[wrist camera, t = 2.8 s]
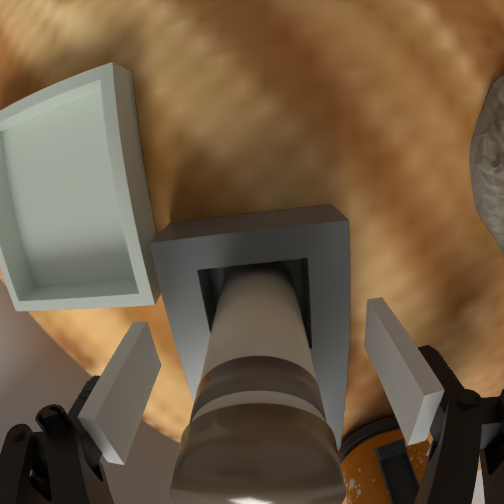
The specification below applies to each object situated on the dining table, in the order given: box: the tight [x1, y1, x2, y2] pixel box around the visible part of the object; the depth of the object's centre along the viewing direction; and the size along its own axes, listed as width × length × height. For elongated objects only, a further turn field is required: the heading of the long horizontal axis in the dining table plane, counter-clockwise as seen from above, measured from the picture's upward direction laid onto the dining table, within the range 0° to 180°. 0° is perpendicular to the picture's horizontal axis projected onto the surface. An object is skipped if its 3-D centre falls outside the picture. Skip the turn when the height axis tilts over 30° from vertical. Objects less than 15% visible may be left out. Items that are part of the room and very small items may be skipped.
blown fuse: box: [170, 261, 346, 504], centre depth 13 cm, size 5×5×14 cm
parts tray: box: [0, 62, 161, 311], centre depth 18 cm, size 14×12×3 cm
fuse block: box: [150, 205, 350, 448], centre depth 20 cm, size 18×10×4 cm, turn 7°
